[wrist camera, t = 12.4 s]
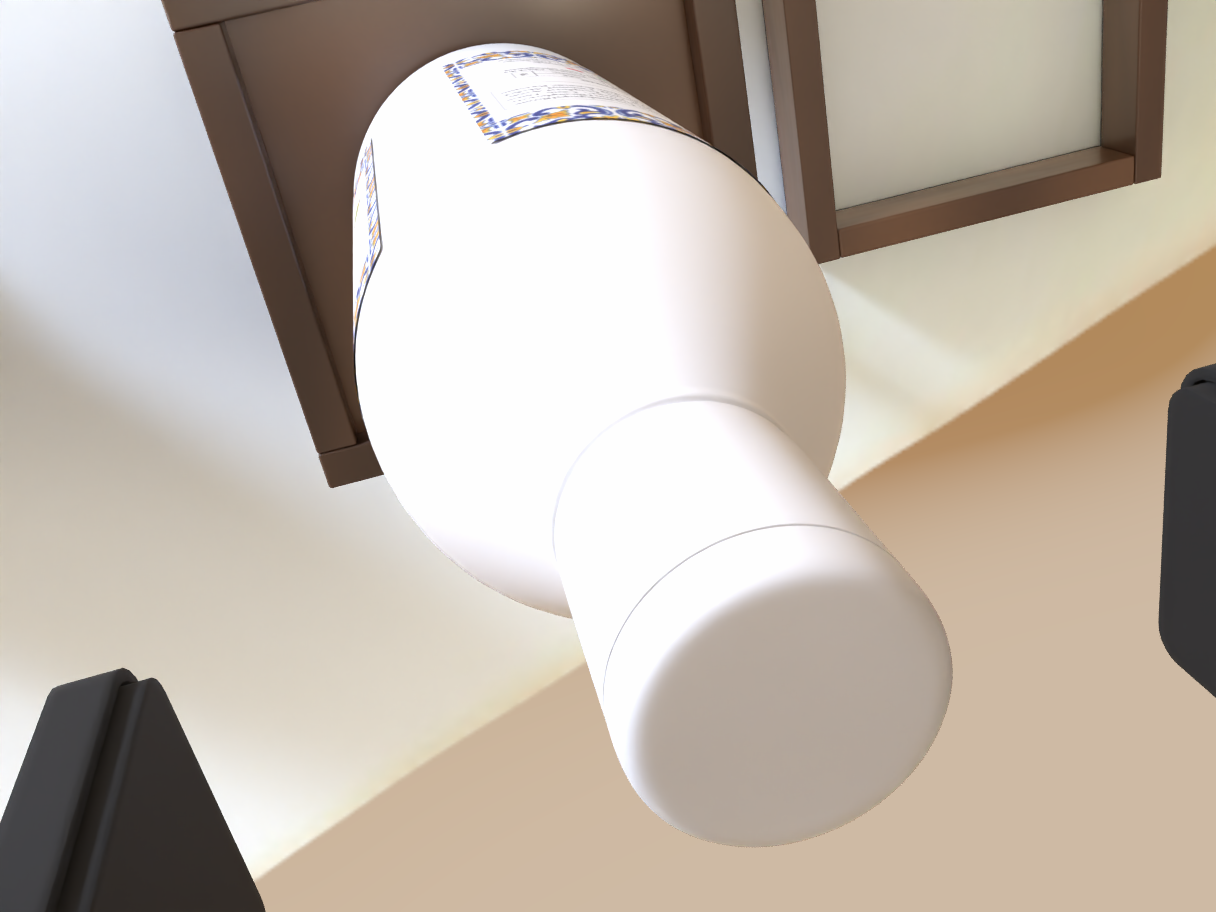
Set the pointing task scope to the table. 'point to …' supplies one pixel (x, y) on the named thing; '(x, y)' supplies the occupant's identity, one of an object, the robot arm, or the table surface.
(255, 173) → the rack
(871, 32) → the table surface
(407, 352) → the bath foam
